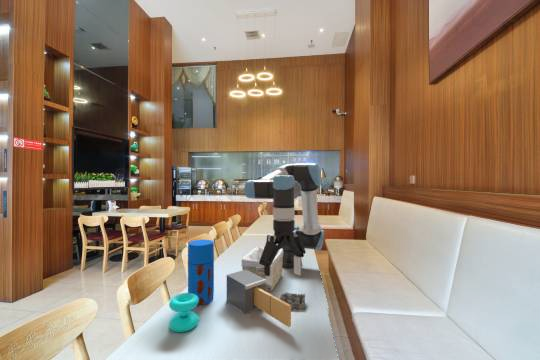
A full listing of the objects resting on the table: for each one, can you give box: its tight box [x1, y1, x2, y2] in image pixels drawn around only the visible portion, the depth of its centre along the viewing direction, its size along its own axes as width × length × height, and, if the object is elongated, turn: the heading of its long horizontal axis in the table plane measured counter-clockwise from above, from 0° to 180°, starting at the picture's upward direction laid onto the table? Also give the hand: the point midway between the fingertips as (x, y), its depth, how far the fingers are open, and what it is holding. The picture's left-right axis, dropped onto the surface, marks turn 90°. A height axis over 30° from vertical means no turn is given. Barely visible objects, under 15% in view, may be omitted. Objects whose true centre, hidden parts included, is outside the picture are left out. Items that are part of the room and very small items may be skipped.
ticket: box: [253, 286, 292, 328], centre depth 95 cm, size 22×1×7 cm, turn 40°
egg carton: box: [279, 291, 306, 310], centre depth 106 cm, size 11×8×4 cm
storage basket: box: [241, 246, 283, 292], centre depth 129 cm, size 24×16×15 cm
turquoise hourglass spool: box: [168, 292, 200, 333], centre depth 91 cm, size 10×10×10 cm
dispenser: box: [226, 269, 266, 315], centre depth 106 cm, size 15×10×11 cm, turn 40°
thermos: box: [187, 239, 215, 307], centre depth 110 cm, size 11×11×25 cm
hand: (283, 279), depth 89 cm, fingers open, 13 cm apart
